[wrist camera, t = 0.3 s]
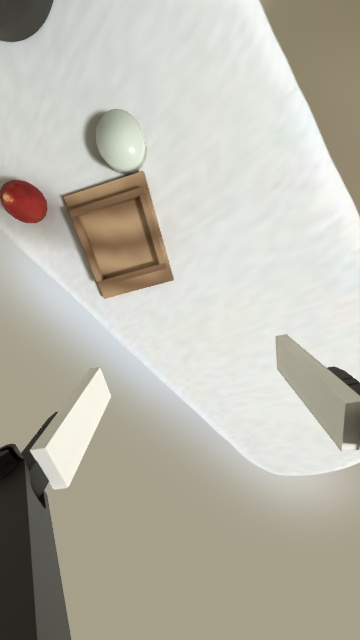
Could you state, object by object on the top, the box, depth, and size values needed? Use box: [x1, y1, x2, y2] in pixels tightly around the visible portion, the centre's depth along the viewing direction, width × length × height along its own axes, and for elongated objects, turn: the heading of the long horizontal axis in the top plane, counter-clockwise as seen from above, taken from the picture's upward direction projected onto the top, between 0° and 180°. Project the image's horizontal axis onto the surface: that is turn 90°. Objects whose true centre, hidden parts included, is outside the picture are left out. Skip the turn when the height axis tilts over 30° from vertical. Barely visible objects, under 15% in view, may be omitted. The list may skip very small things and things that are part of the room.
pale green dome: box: [95, 109, 146, 175], centre depth 32 cm, size 7×7×3 cm
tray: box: [64, 171, 174, 299], centre depth 36 cm, size 18×14×3 cm
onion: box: [0, 180, 47, 223], centre depth 32 cm, size 6×6×8 cm
